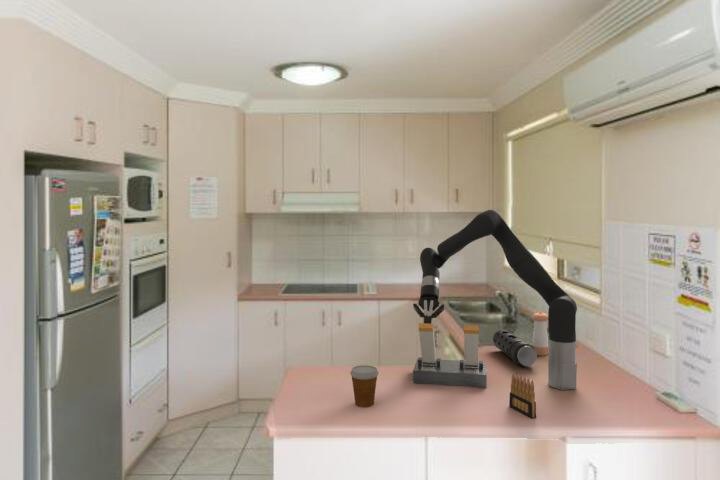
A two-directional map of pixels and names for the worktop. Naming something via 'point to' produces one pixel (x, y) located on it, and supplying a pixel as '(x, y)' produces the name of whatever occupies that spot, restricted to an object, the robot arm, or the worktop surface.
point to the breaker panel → (450, 373)
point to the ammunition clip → (522, 396)
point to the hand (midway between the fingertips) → (427, 325)
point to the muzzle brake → (515, 348)
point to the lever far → (427, 343)
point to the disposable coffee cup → (364, 384)
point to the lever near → (471, 346)
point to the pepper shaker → (540, 333)
